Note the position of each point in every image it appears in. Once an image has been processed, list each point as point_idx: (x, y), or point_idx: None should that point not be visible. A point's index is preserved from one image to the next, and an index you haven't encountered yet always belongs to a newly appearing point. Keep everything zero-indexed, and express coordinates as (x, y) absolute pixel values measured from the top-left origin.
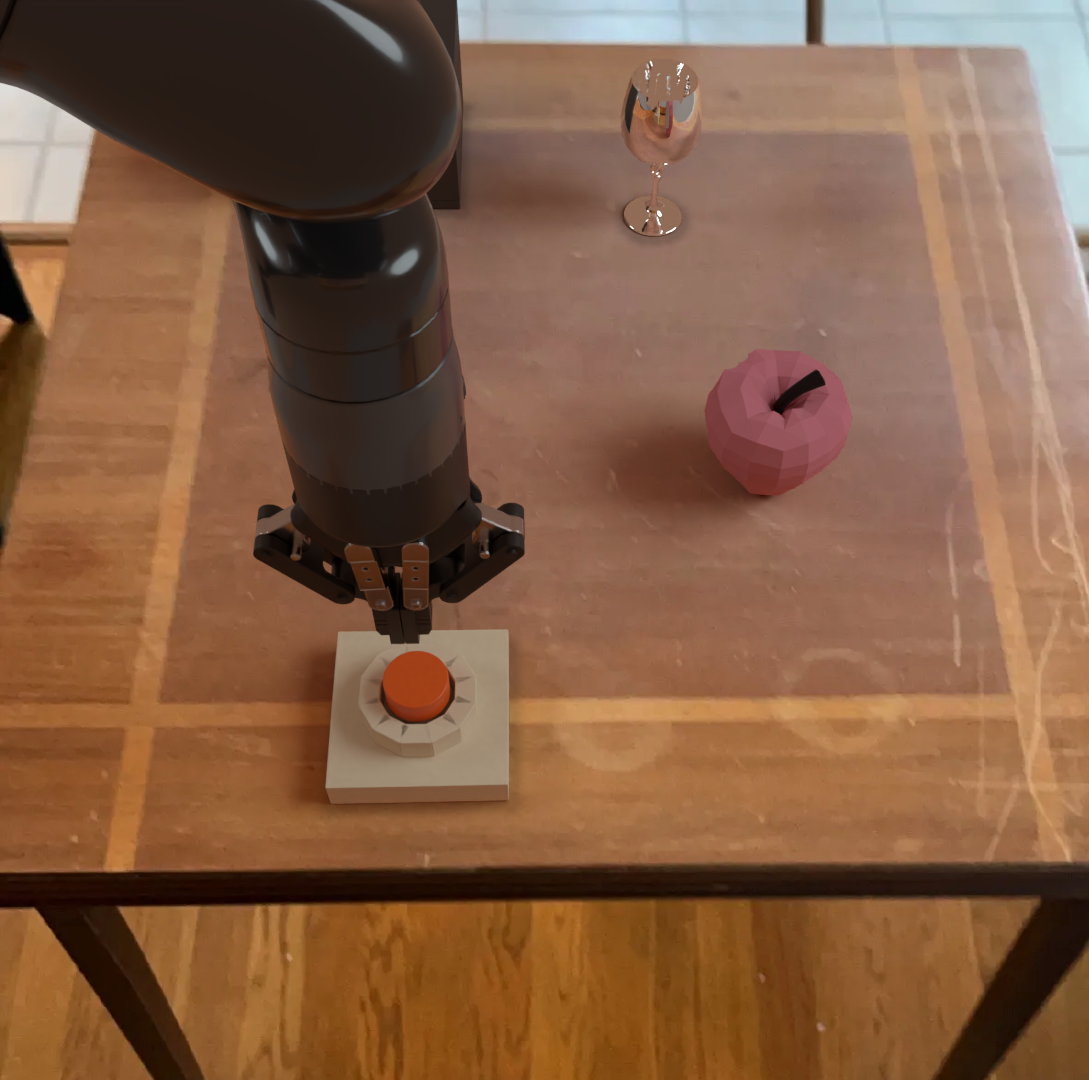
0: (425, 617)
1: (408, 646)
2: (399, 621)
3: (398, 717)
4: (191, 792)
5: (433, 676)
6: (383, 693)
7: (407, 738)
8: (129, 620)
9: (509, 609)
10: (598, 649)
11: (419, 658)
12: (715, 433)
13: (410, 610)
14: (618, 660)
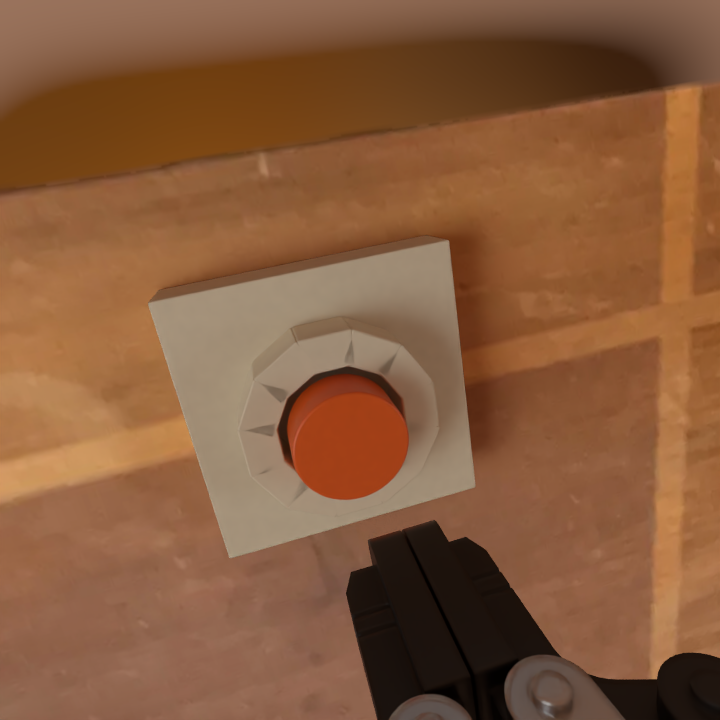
0: (373, 641)
1: (375, 496)
2: (448, 613)
3: None
4: (609, 220)
5: (321, 460)
6: None
7: (340, 340)
8: (700, 432)
9: (245, 575)
10: (93, 557)
11: (354, 485)
12: None
13: (434, 684)
14: (54, 550)
